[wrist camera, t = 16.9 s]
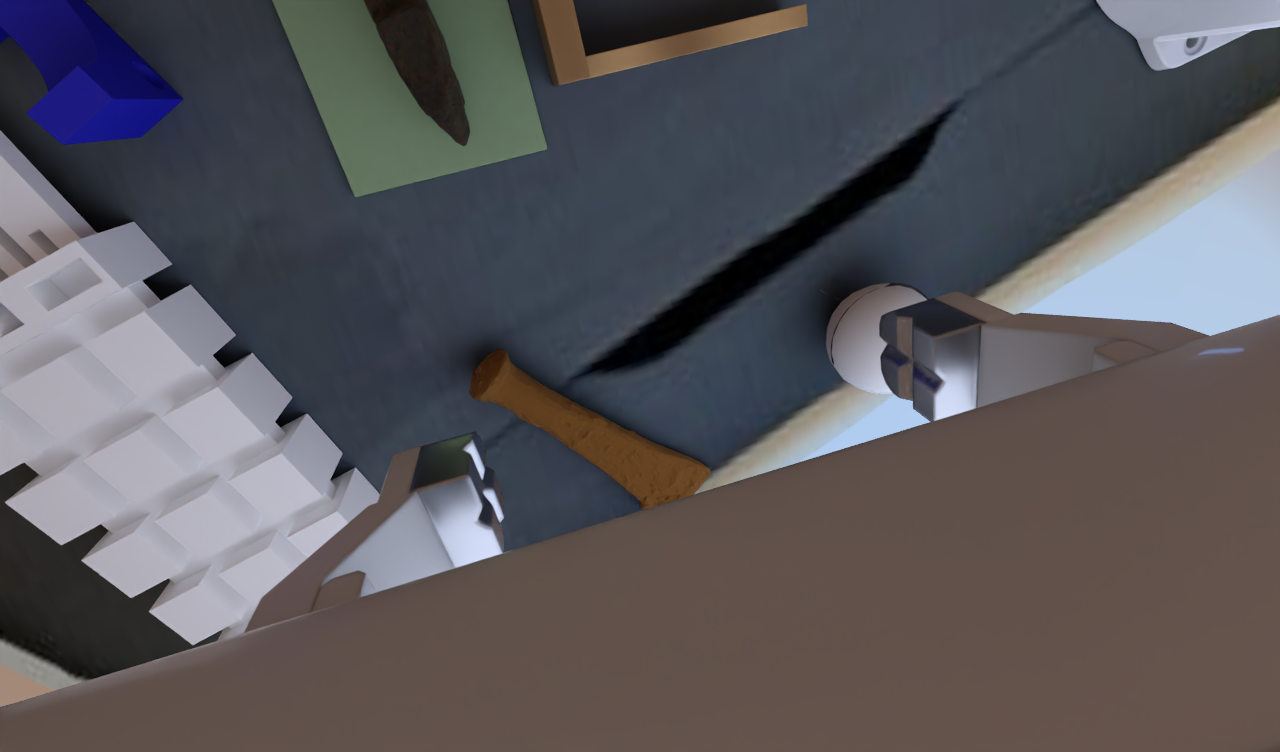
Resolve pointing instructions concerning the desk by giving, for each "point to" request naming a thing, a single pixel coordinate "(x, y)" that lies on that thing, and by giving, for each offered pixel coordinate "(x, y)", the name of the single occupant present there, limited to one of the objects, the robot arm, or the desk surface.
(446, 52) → the hand tool
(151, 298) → the organizer
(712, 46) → the tool rack
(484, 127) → the mat
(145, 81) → the cable clip
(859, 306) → the white seamed ball
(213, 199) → the desk surface
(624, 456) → the primitive tool
